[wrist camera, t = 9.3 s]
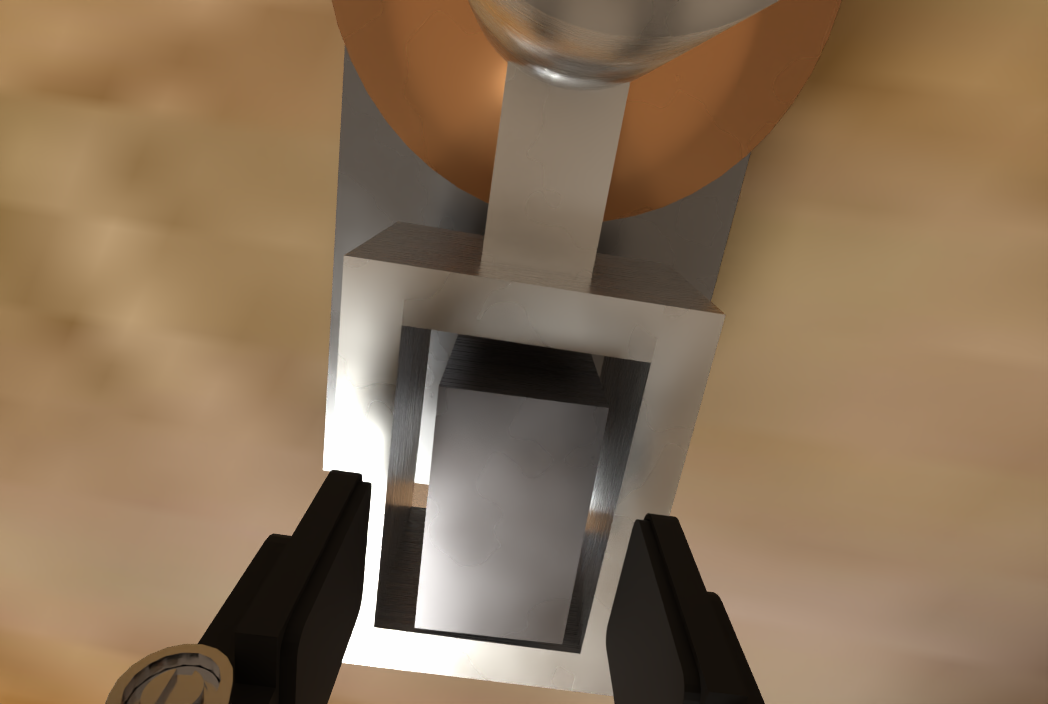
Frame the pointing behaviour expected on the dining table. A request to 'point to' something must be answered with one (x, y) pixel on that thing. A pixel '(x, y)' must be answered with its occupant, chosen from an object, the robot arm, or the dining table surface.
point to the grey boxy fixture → (538, 257)
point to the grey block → (509, 489)
